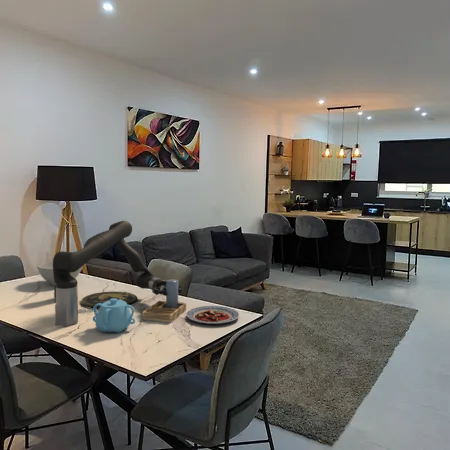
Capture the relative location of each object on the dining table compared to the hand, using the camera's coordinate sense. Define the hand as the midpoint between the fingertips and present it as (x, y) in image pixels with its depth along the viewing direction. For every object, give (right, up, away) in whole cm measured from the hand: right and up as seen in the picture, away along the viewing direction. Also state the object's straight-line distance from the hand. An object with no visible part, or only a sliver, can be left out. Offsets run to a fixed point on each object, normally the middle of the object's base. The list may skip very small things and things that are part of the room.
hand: (173, 292), depth 205 cm
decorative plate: (-38, -8, +20) cm, 43 cm away
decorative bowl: (-79, -3, +55) cm, 96 cm away
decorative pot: (-24, -13, -22) cm, 35 cm away
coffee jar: (-64, -7, +21) cm, 68 cm away
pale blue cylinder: (-1, -9, +2) cm, 9 cm away
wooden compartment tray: (-4, -11, -2) cm, 12 cm away
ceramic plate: (+20, -12, -5) cm, 24 cm away
